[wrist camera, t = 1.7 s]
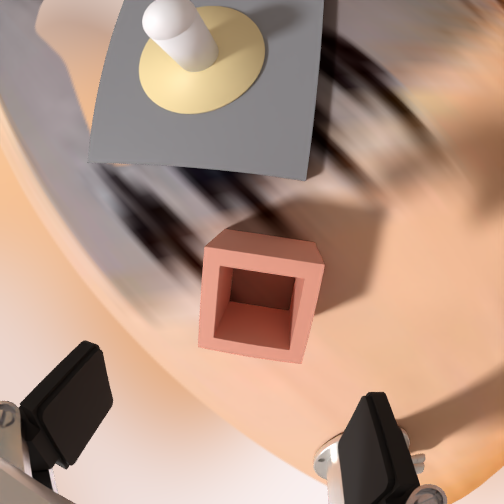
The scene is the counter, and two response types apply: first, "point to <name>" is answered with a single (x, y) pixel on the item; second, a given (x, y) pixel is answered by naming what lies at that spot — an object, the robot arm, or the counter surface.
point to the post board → (210, 86)
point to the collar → (251, 316)
